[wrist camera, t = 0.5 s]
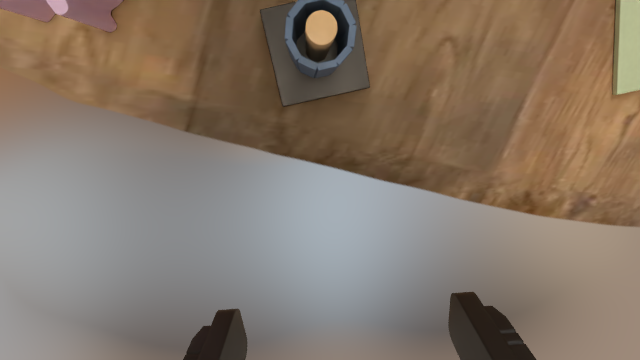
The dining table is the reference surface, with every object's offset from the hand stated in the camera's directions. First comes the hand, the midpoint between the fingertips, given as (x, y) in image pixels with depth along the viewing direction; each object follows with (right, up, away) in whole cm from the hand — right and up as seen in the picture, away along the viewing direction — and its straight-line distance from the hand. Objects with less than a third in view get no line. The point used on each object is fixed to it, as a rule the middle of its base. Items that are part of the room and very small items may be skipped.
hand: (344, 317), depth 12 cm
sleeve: (-1, +19, +21) cm, 29 cm away
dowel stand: (-1, +20, +23) cm, 30 cm away
